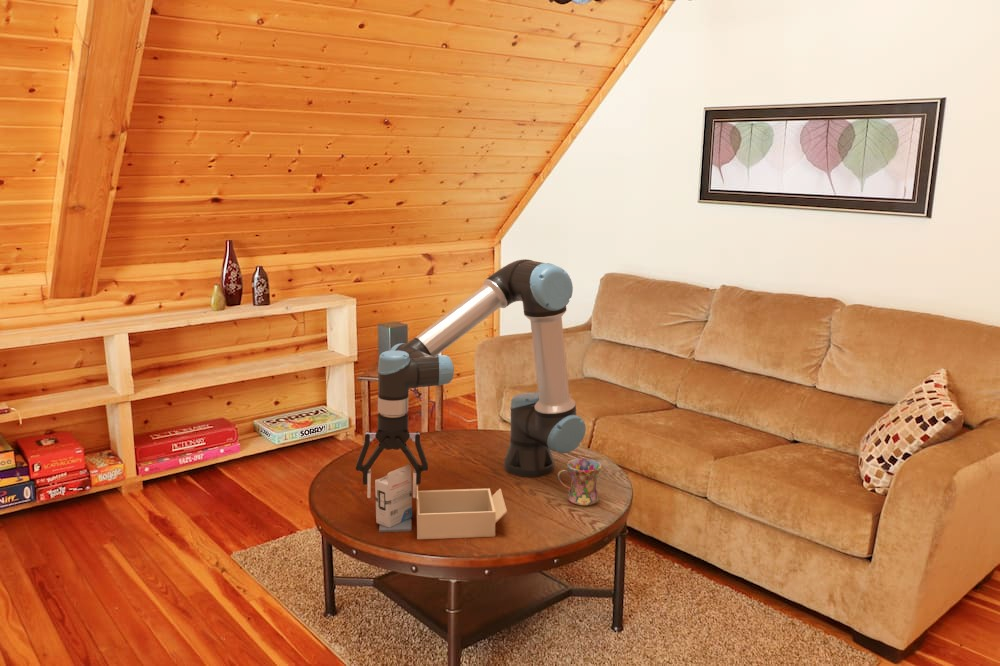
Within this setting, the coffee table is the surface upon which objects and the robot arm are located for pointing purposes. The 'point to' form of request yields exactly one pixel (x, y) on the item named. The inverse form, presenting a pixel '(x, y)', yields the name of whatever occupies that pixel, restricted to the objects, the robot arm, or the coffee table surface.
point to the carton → (458, 513)
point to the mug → (582, 481)
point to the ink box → (394, 497)
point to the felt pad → (397, 527)
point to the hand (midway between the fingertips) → (391, 495)
